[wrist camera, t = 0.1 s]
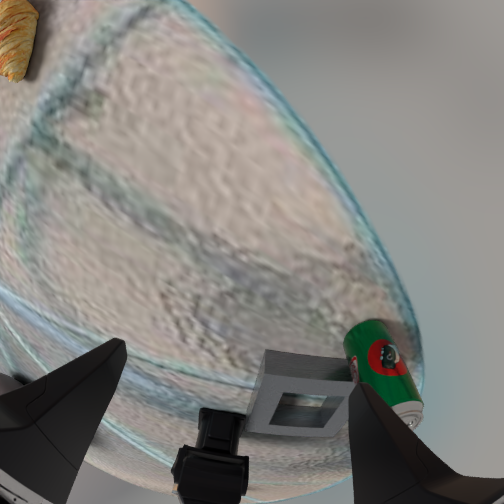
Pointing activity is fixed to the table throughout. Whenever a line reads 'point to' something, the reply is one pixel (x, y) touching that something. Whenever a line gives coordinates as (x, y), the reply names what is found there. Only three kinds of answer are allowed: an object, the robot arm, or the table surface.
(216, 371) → the table surface
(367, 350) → the soda can
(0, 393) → the smooth stone
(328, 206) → the table surface
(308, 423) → the sleeve block
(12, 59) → the croissant
